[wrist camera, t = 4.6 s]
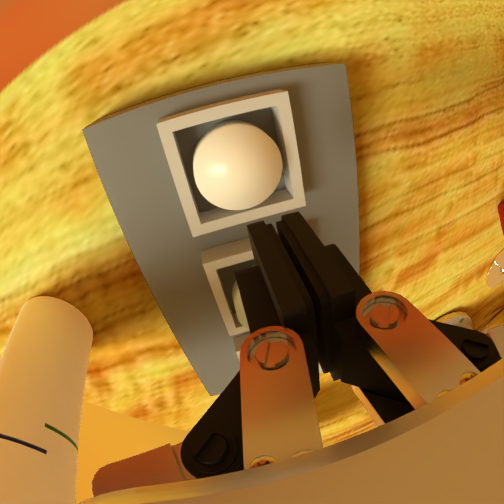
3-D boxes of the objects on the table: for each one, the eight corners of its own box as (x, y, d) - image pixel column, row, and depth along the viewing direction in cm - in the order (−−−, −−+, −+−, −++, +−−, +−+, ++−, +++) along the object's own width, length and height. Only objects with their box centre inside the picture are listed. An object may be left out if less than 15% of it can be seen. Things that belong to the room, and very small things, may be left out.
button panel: (323, 62, 17) (358, 64, 13) (343, 329, 30) (362, 362, 27) (96, 119, 16) (74, 135, 13) (206, 371, 30) (212, 408, 26)
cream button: (265, 111, 15) (274, 116, 14) (279, 186, 17) (288, 197, 16) (182, 132, 15) (183, 139, 13) (204, 206, 17) (206, 220, 16)
